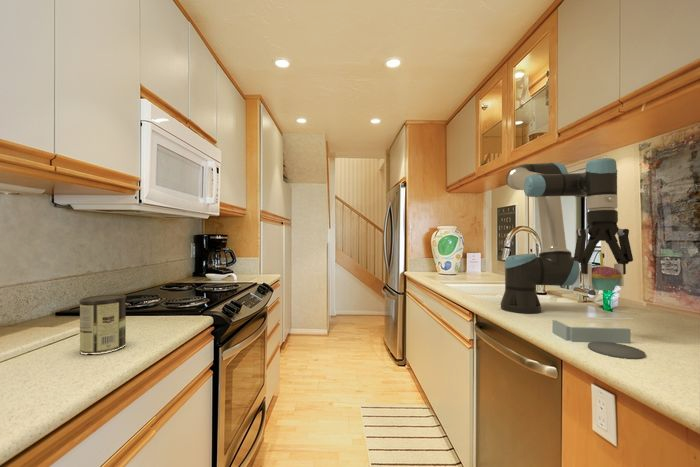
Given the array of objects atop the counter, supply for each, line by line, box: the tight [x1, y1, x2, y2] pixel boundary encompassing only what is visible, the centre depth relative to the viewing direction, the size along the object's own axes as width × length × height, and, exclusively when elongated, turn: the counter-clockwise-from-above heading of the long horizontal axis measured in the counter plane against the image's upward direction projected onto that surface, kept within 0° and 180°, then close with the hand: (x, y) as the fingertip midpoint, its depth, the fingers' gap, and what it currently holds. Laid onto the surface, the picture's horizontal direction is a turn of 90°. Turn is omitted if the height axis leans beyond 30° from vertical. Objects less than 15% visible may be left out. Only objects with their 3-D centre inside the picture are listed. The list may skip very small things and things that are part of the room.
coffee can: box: [79, 293, 127, 354], centre depth 91 cm, size 10×10×14 cm
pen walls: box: [551, 319, 632, 344], centre depth 101 cm, size 9×17×4 cm, turn 85°
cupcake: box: [592, 249, 622, 292], centre depth 101 cm, size 9×8×12 cm
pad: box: [587, 342, 646, 360], centre depth 90 cm, size 12×12×1 cm
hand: (603, 285), depth 101 cm, fingers closed on cupcake, 8 cm apart
